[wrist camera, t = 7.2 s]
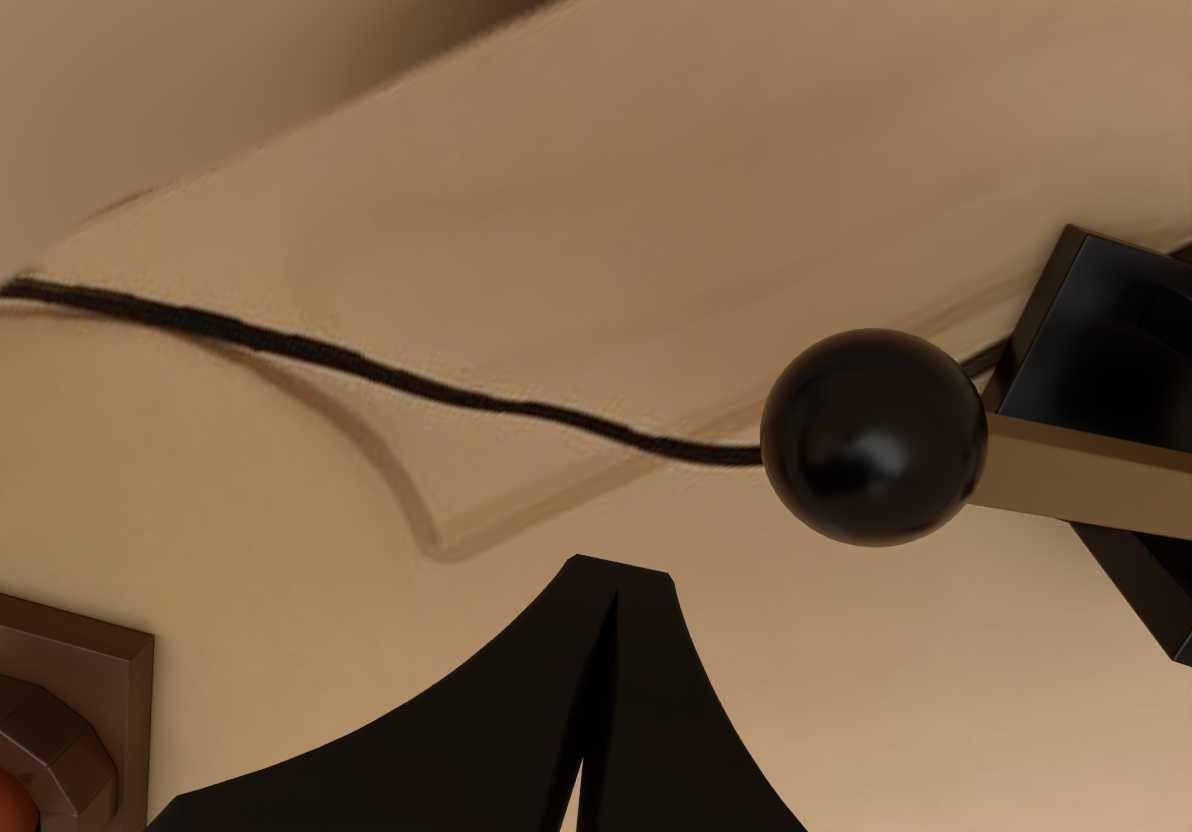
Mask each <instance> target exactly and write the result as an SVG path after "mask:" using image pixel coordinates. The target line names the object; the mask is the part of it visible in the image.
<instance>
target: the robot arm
mask: <svg viewBox="0 0 1192 832" xmlns="http://www.w3.org/2000/svg"><path fill="white" fill-rule="evenodd" d="M582 759H583V765H582V775H581V786H580V796H579V807H578V818H577V828H576V832H808V831H807V830H806V829H805V828H804V826H803V825H802V824H801V823H800V822H799V820H798V819H797V818H796V817H795V816H794V814H793V813H792V812H791V811H790V809H789V808H788V807H787V806H786V805H785V803H784V802H783V801H782V800H781V798H780V797H779V796H778V794H777V793H776V792H775V790H774V789H773V787H772V786H771V785H770V783H769V782H768V781H767V779H766V778H765V776H764V775H763V773H762V772H761V770H760V769H759V767H758V766H757V764H756V763H755V761H754V760H753V758H752V757H751V755H750V753H749V752H748V750H747V749H746V747H745V745H744V744H743V742H742V740H741V739H740V737H739V735H738V734H737V732H736V730H735V728H734V727H733V725H732V723H731V721H730V720H729V718H728V716H727V714H726V712H725V710H724V708H723V706H722V705H721V703H720V701H719V699H718V697H717V695H716V693H715V691H714V689H713V687H712V685H711V683H710V681H709V679H708V676H707V674H706V672H705V670H704V667H703V665H702V663H701V660H700V658H699V656H698V654H697V651H696V649H695V647H694V644H693V642H692V639H691V637H690V634H689V631H688V628H687V626H686V623H685V620H684V617H683V614H682V611H681V608H680V605H679V601H678V598H677V593H676V589H675V584H674V581H673V580H672V578H671V577H670V575H669V574H668V573H665V572H661V571H656V570H651V569H646V568H642V567H637V566H632V565H628V564H623V563H618V562H613V561H609V560H604V559H599V558H594V557H590V556H585V555H580V554H576V555H574V556H573V557H571V558H569V559H567V561H566V562H565V564H564V566H563V567H562V568H561V570H560V571H559V572H558V574H557V575H556V576H555V577H554V579H553V580H552V581H551V582H550V583H549V584H548V586H547V587H546V588H545V589H544V590H543V591H542V592H541V593H540V594H539V595H538V596H537V598H536V599H535V600H534V601H533V602H532V603H531V604H530V605H529V606H528V607H527V608H526V609H525V610H524V611H523V612H522V613H521V614H520V615H518V616H517V617H516V618H515V619H514V620H513V621H512V622H511V623H510V624H509V625H508V626H507V627H506V628H505V629H504V630H503V631H502V632H501V633H499V634H498V635H497V636H496V637H495V638H493V639H492V640H491V641H490V642H489V643H487V644H486V645H485V646H484V647H483V648H481V649H480V650H479V651H478V652H477V653H475V654H474V655H473V656H472V657H471V658H469V659H468V660H467V661H466V662H464V663H463V664H462V665H460V666H459V667H458V668H456V669H455V670H454V671H452V672H451V673H450V674H448V675H447V676H445V677H444V678H443V679H441V680H440V681H438V682H437V683H435V684H434V685H432V686H431V687H429V688H428V689H426V690H425V691H423V692H422V693H420V694H419V695H417V696H416V697H414V698H413V699H411V700H409V701H408V702H406V703H404V704H402V705H401V706H399V707H397V708H395V709H394V710H392V711H390V712H389V713H387V714H385V715H383V716H382V717H380V718H378V719H376V720H375V721H373V722H371V723H369V724H367V725H365V726H363V727H362V728H360V729H358V730H356V731H354V732H352V733H350V734H348V735H345V736H343V737H341V738H339V739H337V740H334V741H332V742H330V743H328V744H325V745H323V746H321V747H319V748H316V749H314V750H311V751H309V752H306V753H304V754H301V755H299V756H296V757H294V758H291V759H289V760H286V761H284V762H281V763H278V764H276V765H273V766H270V767H267V768H265V769H262V770H258V771H255V772H252V773H249V774H246V775H243V776H240V777H237V778H233V779H230V780H227V781H224V782H221V783H218V784H215V785H211V786H208V787H205V788H202V789H199V790H195V791H192V792H188V793H185V794H181V795H178V796H176V797H175V798H174V799H173V800H172V801H171V802H170V803H169V804H168V805H167V806H166V807H165V808H164V810H163V811H162V812H161V813H160V814H159V815H158V816H157V817H156V818H155V819H154V820H153V821H152V822H151V823H150V824H149V825H148V826H147V827H146V828H145V829H144V830H143V831H142V832H560V829H561V826H562V823H563V819H564V816H565V813H566V810H567V807H568V804H569V800H570V797H571V794H572V791H573V788H574V784H575V781H576V778H577V775H578V772H579V768H580V765H581V762H582Z"/></svg>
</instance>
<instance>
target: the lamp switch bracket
mask: <svg viewBox="0 0 1192 832" xmlns="http://www.w3.org/2000/svg"><path fill="white" fill-rule="evenodd" d="M981 400H982V403H983V405H984V409H985V412H989V413H993V414H998V415H1003V416H1008V417H1013V418H1018V419H1023V420H1028V421H1033V422H1038V423H1043V424H1048V425H1053V426H1057V427H1062V428H1067V429H1072V430H1077V431H1082V432H1087V433H1092V434H1097V435H1102V436H1107V437H1112V438H1117V439H1121V440H1126V441H1131V442H1136V443H1141V444H1146V445H1151V446H1156V447H1161V448H1166V449H1171V450H1176V451H1181V452H1185V453H1190V454H1192V262H1190V261H1187V260H1183V259H1180V258H1177V257H1174V256H1171V255H1168V254H1164V253H1161V252H1158V251H1155V250H1152V249H1149V248H1145V247H1142V246H1139V245H1136V244H1133V243H1130V242H1126V241H1123V240H1120V239H1117V238H1114V237H1111V236H1107V235H1104V234H1101V233H1098V232H1095V231H1091V230H1088V229H1085V228H1082V227H1079V226H1076V225H1072V224H1068V225H1067V226H1066V228H1065V230H1064V232H1063V234H1062V236H1061V238H1060V240H1059V242H1058V244H1057V246H1056V248H1055V250H1054V252H1053V254H1052V256H1051V258H1050V260H1049V262H1048V264H1047V266H1046V268H1045V270H1044V272H1043V274H1042V276H1041V278H1040V280H1039V282H1038V284H1037V286H1036V288H1035V290H1034V292H1033V294H1032V296H1031V298H1030V300H1029V302H1028V304H1027V306H1026V309H1025V311H1024V313H1023V315H1022V317H1021V319H1020V321H1019V323H1018V325H1017V327H1016V329H1015V331H1014V333H1013V335H1012V337H1011V339H1010V341H1009V343H1008V345H1007V347H1006V349H1005V351H1004V353H1003V355H1002V357H1001V359H1000V361H999V363H998V365H997V367H996V369H995V371H994V373H993V375H992V377H991V379H990V381H989V383H988V385H987V387H986V389H985V391H984V393H983V395H982V397H981ZM1056 519H1058V518H1056ZM1059 520H1062V521H1065V522H1068V523H1069V524H1070V525H1071V527H1072V528H1073V529H1074V531H1075V532H1076V533H1077V535H1078V536H1079V537H1080V539H1081V540H1082V541H1083V543H1084V544H1085V545H1086V547H1087V548H1088V549H1089V551H1090V552H1091V553H1092V555H1093V556H1094V557H1095V559H1096V560H1097V561H1098V563H1099V564H1100V565H1101V567H1102V568H1103V569H1104V571H1105V572H1106V573H1107V575H1108V576H1109V578H1110V579H1111V580H1112V582H1113V583H1114V584H1115V586H1116V587H1117V588H1118V590H1119V591H1120V592H1121V594H1122V595H1123V596H1124V598H1125V599H1126V600H1127V602H1128V603H1129V604H1130V606H1131V607H1132V608H1133V610H1134V611H1135V612H1136V614H1137V615H1138V616H1139V618H1140V619H1141V620H1142V622H1143V623H1144V624H1145V626H1146V627H1147V628H1148V630H1149V631H1150V632H1151V634H1152V635H1153V636H1154V638H1155V639H1156V640H1157V642H1158V643H1159V644H1160V646H1161V647H1162V649H1163V650H1164V651H1165V653H1166V654H1167V655H1168V657H1169V658H1170V659H1171V660H1172V661H1175V662H1178V663H1181V664H1184V665H1187V666H1190V667H1192V540H1186V539H1180V538H1174V537H1167V536H1161V535H1155V534H1149V533H1143V532H1137V531H1131V530H1125V529H1119V528H1113V527H1107V526H1100V525H1094V524H1088V523H1082V522H1076V521H1070V520H1064V519H1059Z"/></svg>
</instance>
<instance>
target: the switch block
mask: <svg viewBox="0 0 1192 832" xmlns="http://www.w3.org/2000/svg"><path fill="white" fill-rule="evenodd" d="M152 662H153V636H150V635H147V634H143V633H139V632H136V631H132V630H129V629H125V628H121V627H118V626H114V625H110V624H107V623H103V622H99V621H96V620H92V619H89V618H85V617H81V616H78V615H74V614H70V613H67V612H63V611H59V610H56V609H52V608H48V607H45V606H41V605H38V604H34V603H30V602H27V601H23V600H19V599H16V598H12V597H8V596H5V595H1V594H0V767H2V768H3V769H4V770H6V771H7V772H9V773H10V774H11V775H13V776H14V777H15V778H17V779H18V780H20V781H21V782H22V784H23V786H24V787H25V789H26V790H27V792H28V794H29V795H30V797H31V798H32V800H33V801H34V803H35V805H36V806H37V808H38V810H39V819H38V823H37V826H36V829H35V831H34V832H142V831H143V830H144V829H145V826H146V803H147V779H148V756H149V732H150V709H151V685H152Z"/></svg>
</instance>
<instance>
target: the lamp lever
mask: <svg viewBox="0 0 1192 832" xmlns="http://www.w3.org/2000/svg"><path fill="white" fill-rule="evenodd" d="M760 446H761V456H762V460H763V464H764V467H765V471H766V474H767V476H768V478H769V481H770V483H771V485H772V487H773V489H774V490H775V492H776V494H777V495H778V497H779V498H780V500H781V501H782V502H783V504H784V505H785V506H786V507H787V508H788V509H789V510H790V511H791V512H792V514H793V515H794V516H795V517H796V518H798V519H799V520H800V521H802V522H803V523H804V524H806V525H807V526H808V527H810V528H811V529H812V530H814V531H816V532H818V533H820V534H822V535H824V536H826V537H828V538H830V539H833V540H836V541H838V542H842V543H846V544H850V545H855V546H862V547H889V546H895V545H900V544H904V543H908V542H911V541H915V540H917V539H920V538H922V537H925V536H927V535H929V534H931V533H933V532H934V531H936V530H937V529H939V528H941V527H942V526H943V525H945V524H946V523H947V522H949V521H950V520H951V519H952V518H953V517H954V516H955V515H957V514H958V513H959V511H960V510H961V509H962V508H963V507H964V506H965V505H966V504H972V505H979V506H985V507H991V508H997V509H1003V510H1009V511H1015V512H1021V513H1027V514H1033V515H1039V516H1046V517H1052V518H1058V519H1064V520H1070V521H1076V522H1082V523H1088V524H1094V525H1100V526H1107V527H1113V528H1119V529H1125V530H1131V531H1137V532H1143V533H1149V534H1155V535H1161V536H1167V537H1174V538H1180V539H1186V540H1192V454H1190V453H1185V452H1181V451H1176V450H1171V449H1166V448H1161V447H1156V446H1151V445H1146V444H1141V443H1136V442H1131V441H1126V440H1121V439H1117V438H1112V437H1107V436H1102V435H1097V434H1092V433H1087V432H1082V431H1077V430H1072V429H1067V428H1062V427H1057V426H1053V425H1048V424H1043V423H1038V422H1033V421H1028V420H1023V419H1018V418H1013V417H1008V416H1003V415H998V414H993V413H989V412H985V409H984V405H983V403H982V400H981V398H980V396H979V394H978V392H977V389H976V387H975V385H974V384H973V382H972V381H971V379H970V378H969V376H968V375H967V374H966V372H965V371H964V370H963V368H962V367H961V366H960V365H959V364H958V363H957V362H956V361H955V360H954V359H953V358H952V357H950V356H949V355H948V354H947V353H946V352H944V351H943V350H941V349H940V348H939V347H937V346H935V345H934V344H932V343H930V342H928V341H926V340H924V339H922V338H920V337H917V336H914V335H911V334H908V333H905V332H901V331H897V330H891V329H881V328H865V329H856V330H851V331H846V332H842V333H838V334H835V335H833V336H830V337H827V338H825V339H823V340H821V341H819V342H817V343H815V344H814V345H812V346H811V347H809V348H808V349H806V350H805V351H803V352H802V353H801V354H800V355H798V356H797V357H796V358H795V359H794V360H793V361H792V362H791V363H790V364H789V365H788V366H787V367H786V368H785V369H784V371H783V372H782V373H781V375H780V376H779V377H778V379H777V380H776V382H775V384H774V385H773V387H772V389H771V391H770V393H769V395H768V397H767V400H766V403H765V406H764V410H763V414H762V420H761V425H760Z"/></svg>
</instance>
